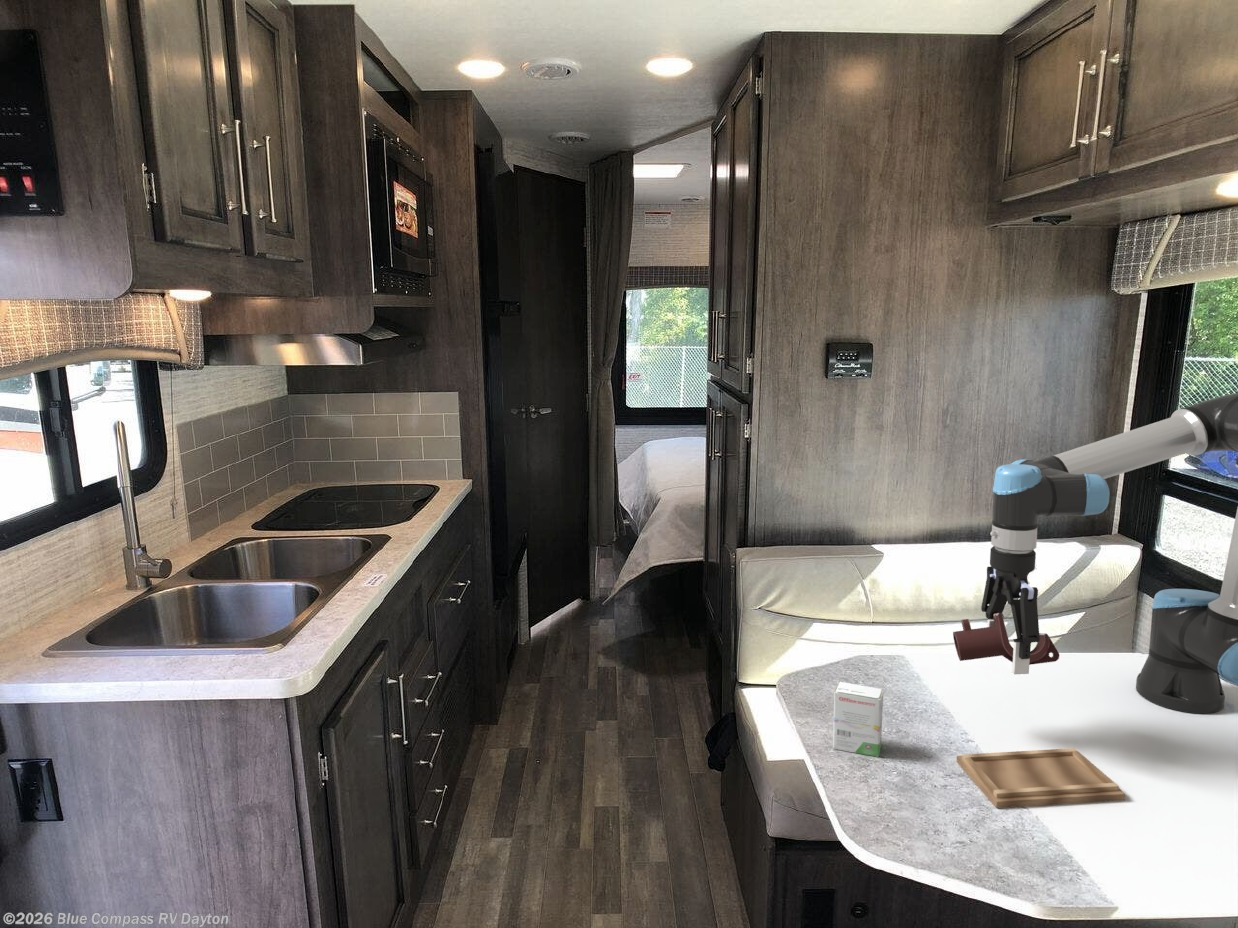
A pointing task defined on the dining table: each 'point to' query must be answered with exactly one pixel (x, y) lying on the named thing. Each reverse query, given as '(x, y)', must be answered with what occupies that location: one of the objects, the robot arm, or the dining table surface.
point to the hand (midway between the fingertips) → (1006, 661)
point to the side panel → (1039, 778)
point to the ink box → (857, 719)
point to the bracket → (998, 643)
